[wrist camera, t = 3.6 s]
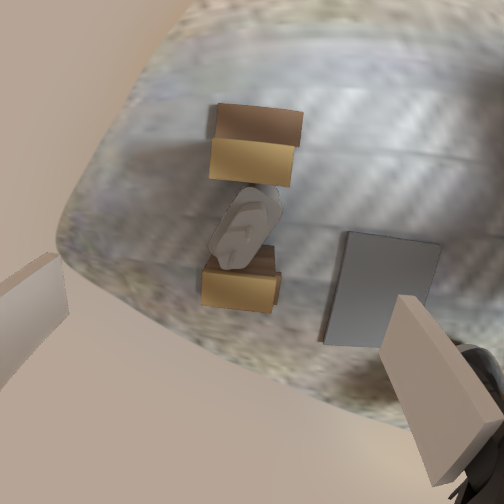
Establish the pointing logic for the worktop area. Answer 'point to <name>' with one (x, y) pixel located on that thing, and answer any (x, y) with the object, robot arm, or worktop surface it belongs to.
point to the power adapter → (246, 225)
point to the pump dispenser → (485, 366)
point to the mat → (376, 286)
